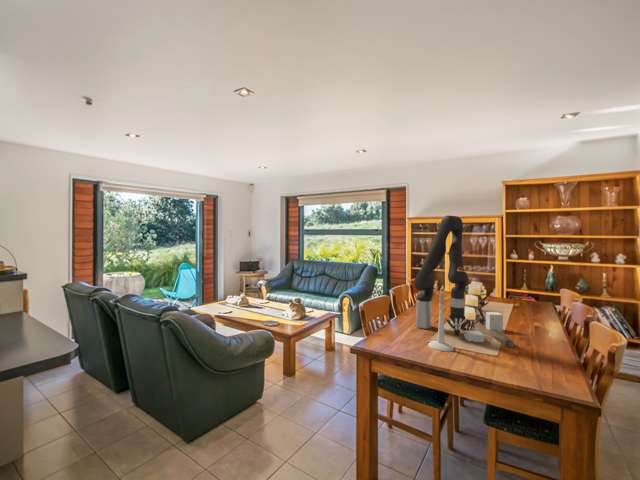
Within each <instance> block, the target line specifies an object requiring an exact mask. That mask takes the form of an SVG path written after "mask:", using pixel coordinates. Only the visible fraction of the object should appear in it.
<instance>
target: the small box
mask: <svg viewBox="0 0 640 480" xmlns="http://www.w3.org/2000/svg"><path fill="white" fill-rule="evenodd" d="M485 329H486V330H487V331H489V332H490V329H498V330H499V331H500V332H503V329H504V315H503V314H502V313H500V312H494V311H492V312H490V311H489V312H488V311H486V312H485Z"/></svg>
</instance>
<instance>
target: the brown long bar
mask: <svg viewBox="0 0 640 480" xmlns="http://www.w3.org/2000/svg"><path fill="white" fill-rule="evenodd" d="M489 335H490V336H491V337H492V338H494V339H495V340H496V342H498V343H500V344H501V345H502V346H504V347H505V348H514V340H513V339H512V338H510V337H509V336H507V335H506V334H504V333H503V331H499V330H498V329H490V331H489Z"/></svg>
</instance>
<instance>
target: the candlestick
mask: <svg viewBox="0 0 640 480" xmlns="http://www.w3.org/2000/svg"><path fill="white" fill-rule="evenodd" d="M444 299H445V292H444V291H439V303H438V304H437V305H438V308H439V311H438V312H439V315H438V327H437V329H438V330H437V340H432V341H430V342H429V343H428V344H427V345H428V348H430V349H431V350H433V351H438V352H448V353H449V352H452V351H453V352H454V350H455V348H454V345H453V344H451V343H449V342H447V341H446V339H445V321H444V320H445V316H444V315H445V313H444V309H445V306H446V304H444V303H445V302H444V301H445V300H444Z"/></svg>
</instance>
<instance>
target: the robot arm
mask: <svg viewBox="0 0 640 480" xmlns="http://www.w3.org/2000/svg"><path fill="white" fill-rule="evenodd" d="M463 223H464V222H463V219H462V218H461V217H459V216H456V215H445V216H444V217H443V218H442V219H441V221H440V223H439V226H438V229H437V233H436V235H435V238H434V240H433V242H432V244H431V247H430V248H429V251H428V253H427V255H426V258H425V259H424V262H423V264H422V266H421V268H420V269H419V271H418V273H417V274H416V276H415V279H414V281H413V282H414V283H413V284H414V285H413V286H414V288H415V289H416V290H418V291H419V293H418V294H417V295H416V305H415V306H416V309H415V320H414V321H415V322H414V323H415V327H416V328H418V329H425V330H427V329H431V328H432V299H433V296H434V285H435V283H434V280H433V277H432V276H431V274H432V273H433V272H434V271H435V270H436V269H437V268H438V267H439V266H440V265H441V263H442V262H443V260H444V259H445V256H446V253H447V238H448V237H449V234H450V232H451V236H452V237H451V238H452V239H451V244H450V247H449V250H448V258H449V259H448V260H449V267H448V272H447V279H448V282H450V284H456V286H453V287H451V290H450V303H449V306H450V307H449V308H450V310H449V317H448V318H445V321H446V323H447V324H448V325H449V326H450V327H451V329H453V333H454V335H455V336H456V337H459V336H460V335H461V330H463V329H465V327H467V326H468V324H469V323H470V321H469V319H468V318H466V316H465V315H466V313H465V312H466V311H465V310H466V309H465V308H466V307H465V306H466V305H465V304H466V303H465V302H466V301H465V291H466V288H467V285H468V281H469V277H468V273H467V272H466V271H464V270H461V271H460V270H458V268H460V267H463V265H464V262H463V261H464V259H463V251H462V245H463V227H464V225H463ZM451 321H452V323H453V324H452V323H451Z"/></svg>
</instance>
